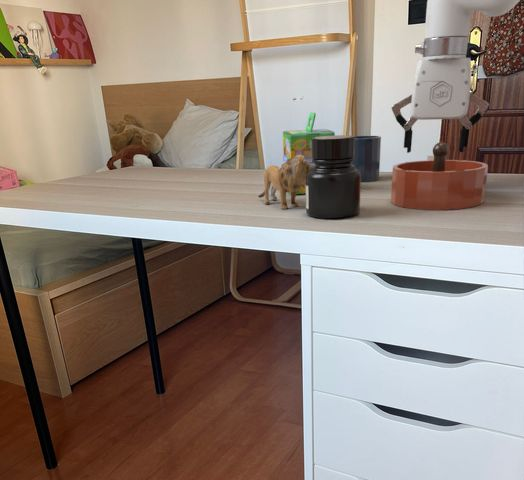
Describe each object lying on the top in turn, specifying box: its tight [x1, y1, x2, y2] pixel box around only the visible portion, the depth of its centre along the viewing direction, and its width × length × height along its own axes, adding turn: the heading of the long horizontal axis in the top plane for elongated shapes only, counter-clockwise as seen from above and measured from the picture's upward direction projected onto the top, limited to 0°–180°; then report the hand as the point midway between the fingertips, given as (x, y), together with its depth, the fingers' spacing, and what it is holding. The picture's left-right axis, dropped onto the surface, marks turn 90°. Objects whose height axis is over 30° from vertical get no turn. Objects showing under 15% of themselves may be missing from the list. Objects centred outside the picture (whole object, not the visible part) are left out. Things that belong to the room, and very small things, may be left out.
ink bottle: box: [305, 134, 362, 219], centre depth 86 cm, size 10×9×12 cm
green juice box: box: [282, 112, 336, 195], centre depth 107 cm, size 9×9×15 cm
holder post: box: [432, 141, 450, 172], centre depth 92 cm, size 9×9×10 cm
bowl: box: [390, 155, 489, 211], centre depth 96 cm, size 16×23×6 cm
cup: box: [351, 135, 382, 183], centre depth 118 cm, size 8×8×9 cm
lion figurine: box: [258, 155, 312, 210], centre depth 96 cm, size 15×5×9 cm, turn 36°
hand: (434, 151), depth 102 cm, fingers open, 9 cm apart
